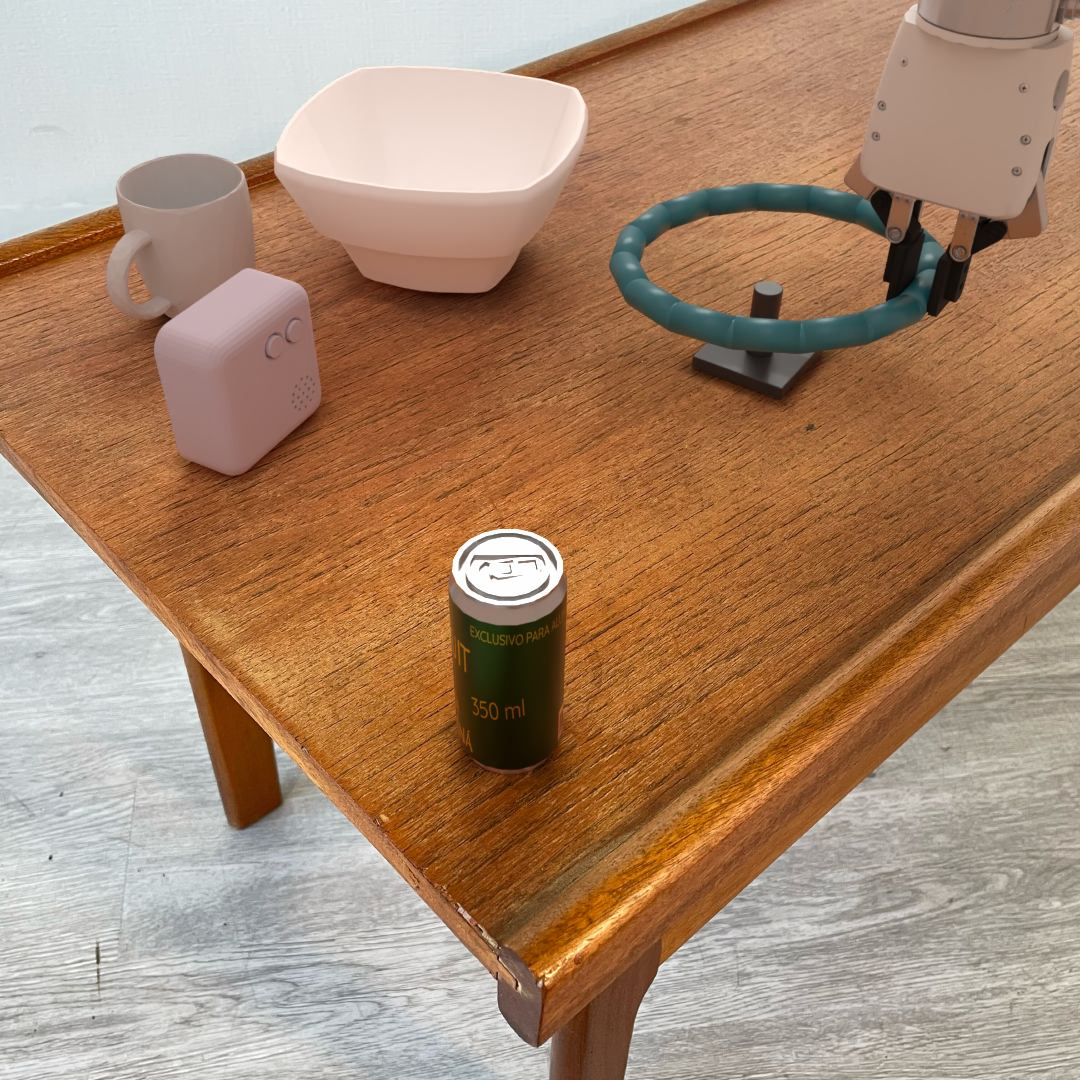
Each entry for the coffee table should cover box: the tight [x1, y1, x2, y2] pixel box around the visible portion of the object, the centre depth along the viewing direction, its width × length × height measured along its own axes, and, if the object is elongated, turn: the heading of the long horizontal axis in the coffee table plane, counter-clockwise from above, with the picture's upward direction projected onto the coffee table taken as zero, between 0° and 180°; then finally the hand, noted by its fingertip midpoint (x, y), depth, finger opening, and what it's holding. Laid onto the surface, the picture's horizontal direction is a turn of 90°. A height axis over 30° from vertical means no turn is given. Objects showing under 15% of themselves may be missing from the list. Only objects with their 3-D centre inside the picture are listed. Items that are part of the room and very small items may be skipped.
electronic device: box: [153, 268, 322, 477], centre depth 76 cm, size 10×5×10 cm, turn 152°
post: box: [691, 280, 824, 401], centre depth 85 cm, size 7×7×6 cm
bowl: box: [273, 65, 589, 294], centre depth 93 cm, size 22×22×12 cm
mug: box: [105, 152, 256, 321], centre depth 87 cm, size 13×9×10 cm
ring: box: [608, 182, 945, 354], centre depth 81 cm, size 22×22×2 cm
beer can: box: [447, 528, 568, 775], centre depth 57 cm, size 5×5×12 cm
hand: (919, 298), depth 77 cm, fingers closed on ring, 2 cm apart
